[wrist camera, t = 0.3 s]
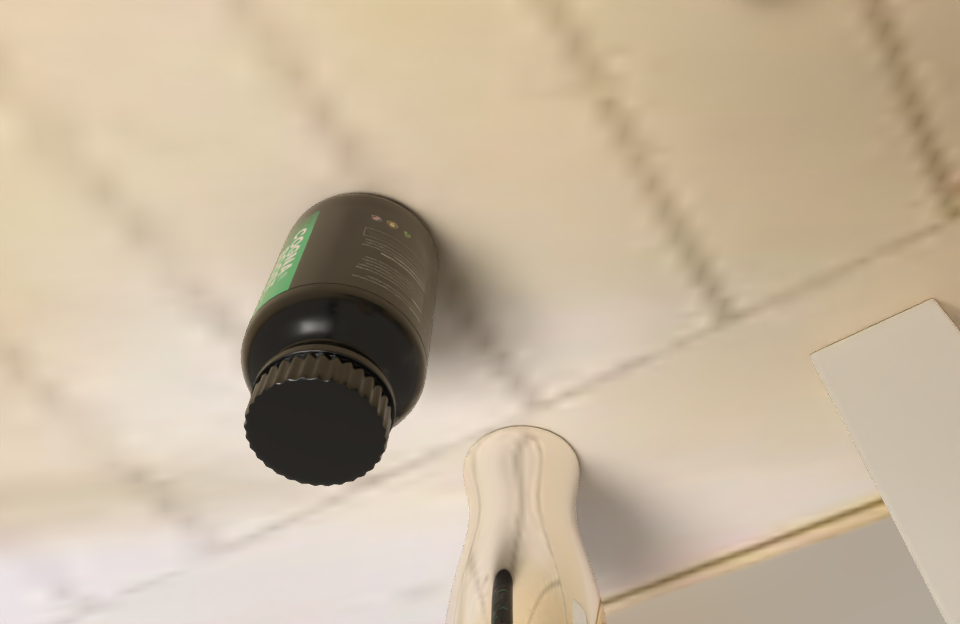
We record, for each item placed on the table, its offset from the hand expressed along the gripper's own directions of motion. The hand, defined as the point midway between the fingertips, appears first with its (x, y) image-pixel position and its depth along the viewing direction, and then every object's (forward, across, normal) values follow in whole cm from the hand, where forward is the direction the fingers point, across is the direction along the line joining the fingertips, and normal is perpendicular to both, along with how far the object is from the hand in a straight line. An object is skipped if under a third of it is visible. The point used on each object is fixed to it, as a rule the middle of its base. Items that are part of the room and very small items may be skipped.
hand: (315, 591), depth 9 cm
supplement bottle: (+29, +6, +7) cm, 31 cm away
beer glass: (+32, -4, +18) cm, 37 cm away
